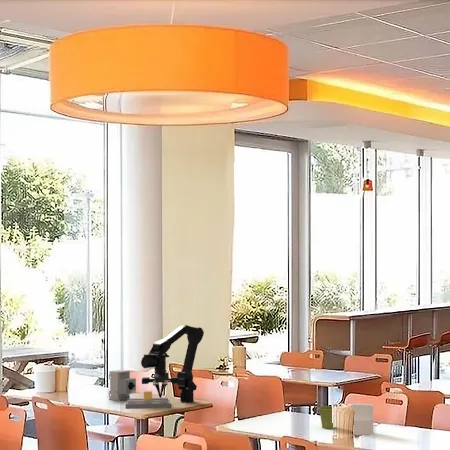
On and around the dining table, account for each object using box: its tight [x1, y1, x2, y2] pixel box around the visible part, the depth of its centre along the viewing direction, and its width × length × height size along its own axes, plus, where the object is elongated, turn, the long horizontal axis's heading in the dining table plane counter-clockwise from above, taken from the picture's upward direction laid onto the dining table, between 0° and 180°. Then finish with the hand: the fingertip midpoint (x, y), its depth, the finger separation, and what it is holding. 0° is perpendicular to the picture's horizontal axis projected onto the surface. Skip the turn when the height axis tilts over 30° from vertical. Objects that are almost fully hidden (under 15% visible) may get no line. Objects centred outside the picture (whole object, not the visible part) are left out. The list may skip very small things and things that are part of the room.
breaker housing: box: [125, 397, 171, 409], centre depth 482 cm, size 22×14×3 cm, turn 92°
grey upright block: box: [351, 403, 375, 436], centre depth 397 cm, size 9×9×12 cm
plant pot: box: [317, 405, 333, 430], centre depth 410 cm, size 9×9×9 cm
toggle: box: [143, 390, 153, 400], centre depth 482 cm, size 4×5×5 cm
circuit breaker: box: [108, 369, 137, 401], centre depth 505 cm, size 8×14×15 cm, turn 53°
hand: (160, 397), depth 482 cm, fingers closed
